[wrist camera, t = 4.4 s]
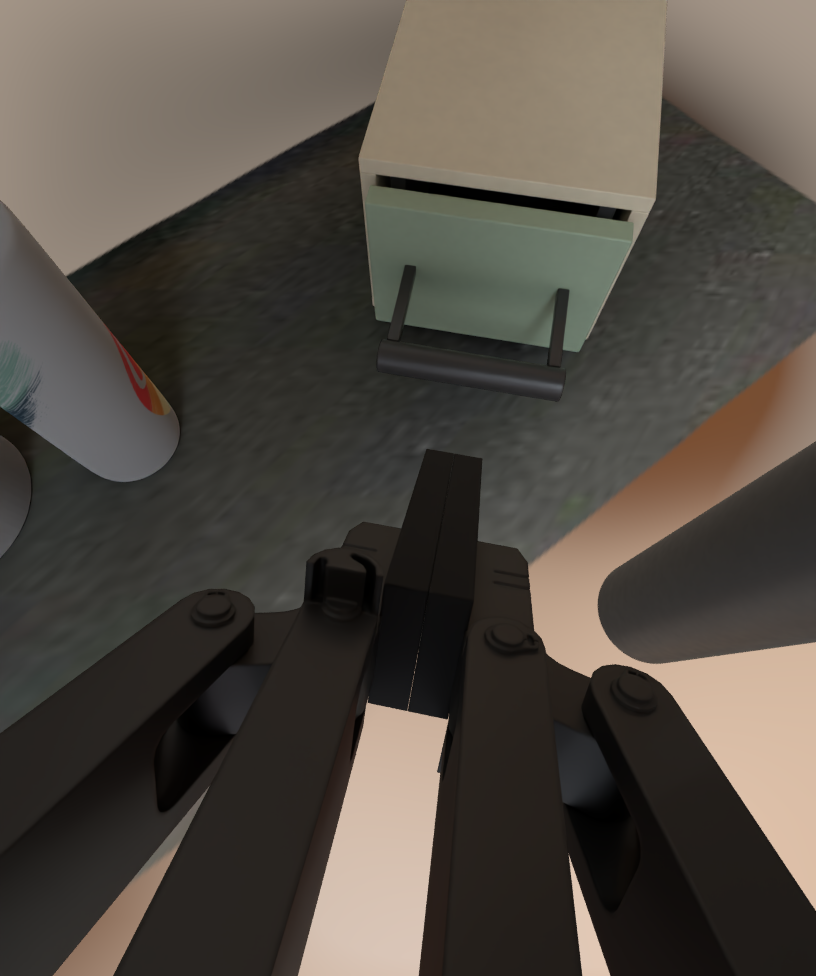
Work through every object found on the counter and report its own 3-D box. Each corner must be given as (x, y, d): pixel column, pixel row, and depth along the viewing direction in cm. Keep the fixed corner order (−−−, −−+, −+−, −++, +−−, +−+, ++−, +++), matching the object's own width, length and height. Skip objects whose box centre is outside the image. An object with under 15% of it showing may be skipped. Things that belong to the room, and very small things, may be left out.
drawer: (568, 448, 32) (624, 360, 24) (352, 411, 33) (332, 313, 24) (598, 173, 39) (648, 32, 31) (419, 149, 40) (421, 5, 31)
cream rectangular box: (587, 340, 35) (656, 199, 25) (372, 305, 36) (357, 157, 26) (605, 157, 41) (669, -19, 31) (418, 131, 42) (420, -47, 32)
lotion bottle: (155, 379, 34) (-148, -2, 16) (199, 449, 33) (-81, 118, 14) (67, 427, 33) (-372, 80, 15) (108, 503, 32) (-327, 221, 13)
